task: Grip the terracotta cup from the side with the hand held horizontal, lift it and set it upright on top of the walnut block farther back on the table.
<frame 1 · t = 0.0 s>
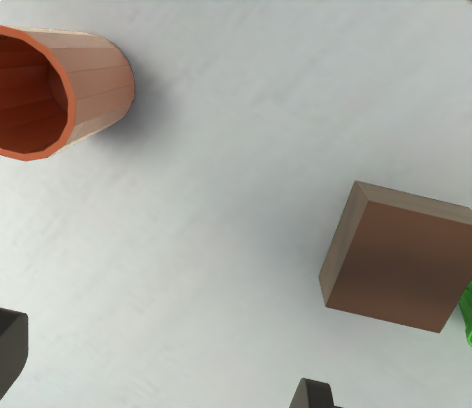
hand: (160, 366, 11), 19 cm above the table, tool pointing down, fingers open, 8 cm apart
block: (389, 244, 30), on the table
cup: (91, 82, 26), on the table
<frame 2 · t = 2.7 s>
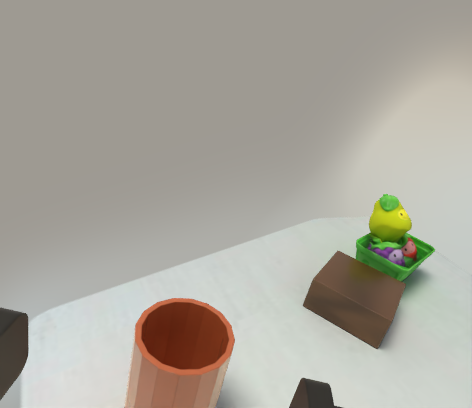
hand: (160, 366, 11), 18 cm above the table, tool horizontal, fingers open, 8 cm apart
block: (349, 307, 45), on the table
fruit basket: (378, 272, 54), on the table
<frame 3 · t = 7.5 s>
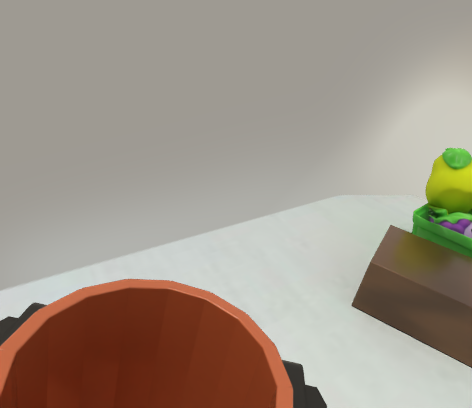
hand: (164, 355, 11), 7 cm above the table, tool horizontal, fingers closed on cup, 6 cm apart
block: (418, 306, 29), on the table
fruit basket: (438, 259, 39), on the table
when the fingers open (11 cm above the table, at t = 15.7 s): cup stays where it is, resting on block.
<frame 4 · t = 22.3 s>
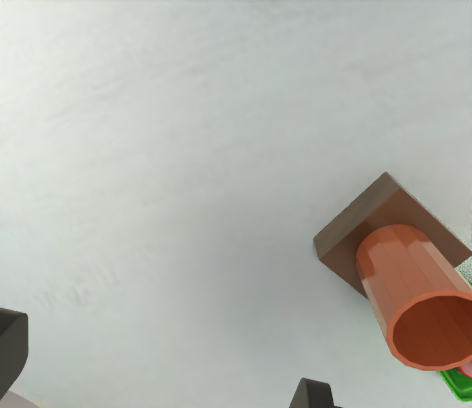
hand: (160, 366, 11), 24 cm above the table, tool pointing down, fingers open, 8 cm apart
block: (381, 235, 35), on the table, touching cup
fruit basket: (453, 309, 38), on the table
cup: (393, 257, 31), point 4 cm above the table, touching block
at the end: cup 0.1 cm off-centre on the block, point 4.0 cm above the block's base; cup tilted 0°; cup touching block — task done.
